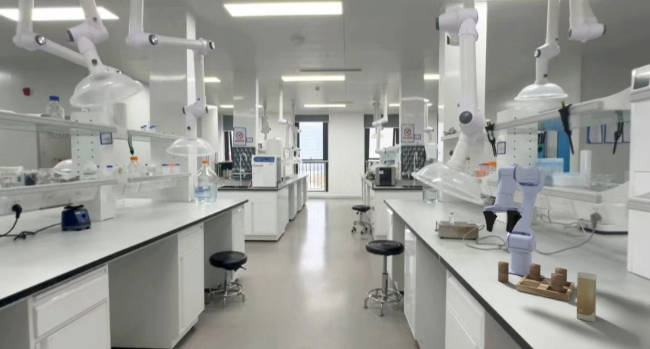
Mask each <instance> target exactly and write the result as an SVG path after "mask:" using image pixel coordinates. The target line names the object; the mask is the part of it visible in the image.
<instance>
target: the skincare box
mask: <svg viewBox="0 0 650 349" xmlns="http://www.w3.org/2000/svg"><path fill="white" fill-rule="evenodd" d="M576 279H577V282H576V283H577V284H576V285H577V286H576V318H577V319H579V320H582V321H587V322H590V323H591V322H593V323H596V320H597V318H596V317H597V316H596V315H597V314H596V313H597V312H596V310H597V306H596V305H597V274H596V273H589V272H584V271H578V272H577V278H576Z"/></svg>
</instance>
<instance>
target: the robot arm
mask: <svg viewBox="0 0 650 349" xmlns="http://www.w3.org/2000/svg"><path fill="white" fill-rule="evenodd" d="M545 180H546V174H545V171H544V169H543V168H539V167H524V166H521V165H519V164H518V163H513V164H509V165H502V166H501V167H499V168H498V170H497V184H498V185H497V191H496V195H495V201H494V203H493V204H492V205H488V206H483V211H482V214H483V217H484V220H485V226H486V231H487V232H489V233H492V232H493V229H494V224H495V222H496V219H497V217H498V215H497V214H496V213H499V214H500V213H502V214H504V213H505V214H506V216H507V217H506V220H507V221H506V227H505V229H506V230H505V231H506V232H507V234H506V237H505V245H506V248H508V250H509V251H510V264H509V265H510V266H509V274H512V275H518V276H523V277H524V276H525V275H526V274H529V264H531V263H533V255H532V253H534V251H535V250H536V247H537V233H536V232H535V231H534V230H533V229H531V225H532V220H533V214H534V210H535V207H536V206H535V205H536V201H537V196H538V194H539V193H540V192H542V191H543V188H544V185H545V182H546V181H545ZM516 187H517V189H518V190H519V191H521V192H522V193H523V196H522V199H521V200H522V201H521V205H513V204H514V199H515V198H514V197H515V193H516Z"/></svg>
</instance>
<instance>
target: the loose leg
mask: <svg viewBox="0 0 650 349" xmlns="http://www.w3.org/2000/svg"><path fill="white" fill-rule="evenodd" d="M497 264H498V265H497V280H498V282H499V283H502V284H503V283H509V278H510V277H509V274H510V273H509V269H510V266H509V265H510V264H509V262H507V261H497Z"/></svg>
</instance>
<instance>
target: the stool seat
mask: <svg viewBox="0 0 650 349" xmlns="http://www.w3.org/2000/svg"><path fill="white" fill-rule="evenodd" d="M574 289H575V282H572V281H568V269H566V268H563V267H555V268H554V272H551V273H550V277H546V276H542V275H541V264H539V263H533V262H532V263H531V264H529V274H526V275H525V276H523V277H522V278H521V279H520V280H519V281H517V283H515V290H516V291H519V292H523V293H529V294H534V295H536V296H537V295H538V296H542V297H545V298H546V297H547V298H552V299H556V300H562V301H565V302H569V300H570V299H571V296H572V294H573V291H574Z"/></svg>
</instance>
